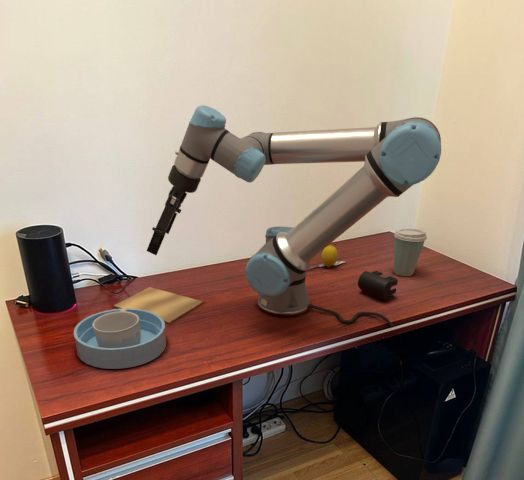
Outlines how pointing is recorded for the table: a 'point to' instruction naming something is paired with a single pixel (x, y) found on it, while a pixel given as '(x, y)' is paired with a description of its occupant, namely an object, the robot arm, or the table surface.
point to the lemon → (329, 255)
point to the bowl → (126, 356)
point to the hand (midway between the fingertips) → (158, 241)
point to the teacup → (117, 329)
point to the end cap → (377, 285)
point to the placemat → (160, 303)
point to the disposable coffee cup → (407, 250)
